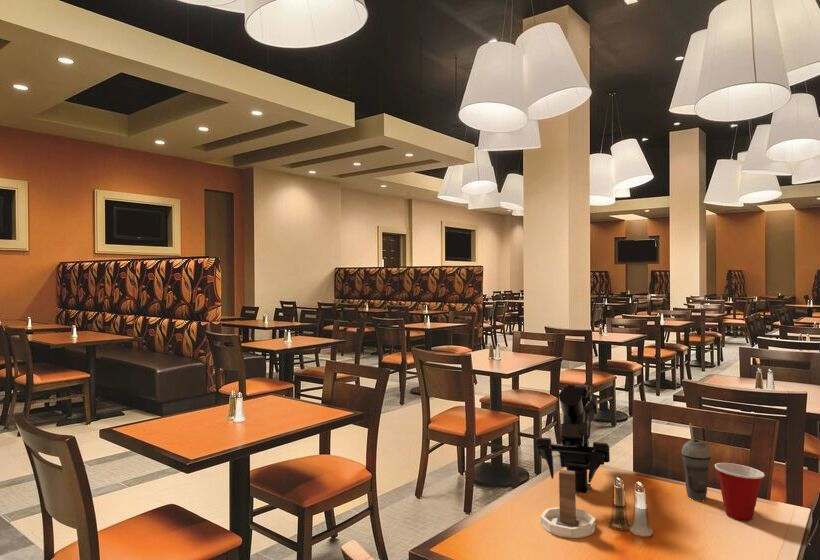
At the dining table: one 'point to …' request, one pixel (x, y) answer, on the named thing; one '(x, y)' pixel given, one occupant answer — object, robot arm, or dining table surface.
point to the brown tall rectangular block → (567, 499)
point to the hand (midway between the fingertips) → (570, 480)
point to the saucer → (550, 526)
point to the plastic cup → (739, 489)
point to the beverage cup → (696, 467)
